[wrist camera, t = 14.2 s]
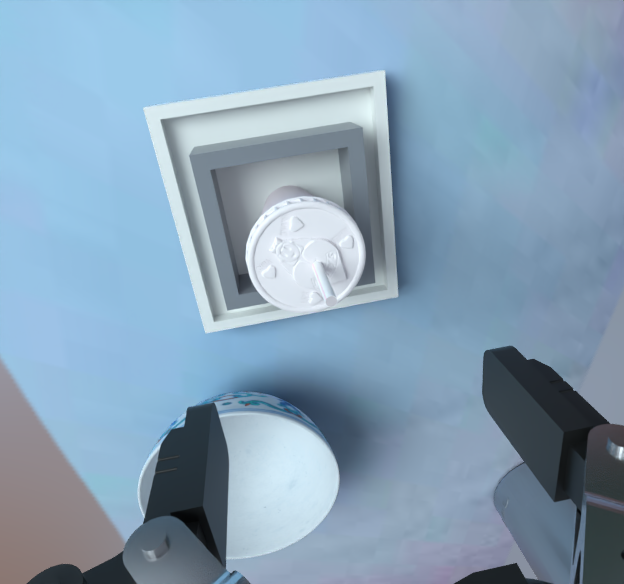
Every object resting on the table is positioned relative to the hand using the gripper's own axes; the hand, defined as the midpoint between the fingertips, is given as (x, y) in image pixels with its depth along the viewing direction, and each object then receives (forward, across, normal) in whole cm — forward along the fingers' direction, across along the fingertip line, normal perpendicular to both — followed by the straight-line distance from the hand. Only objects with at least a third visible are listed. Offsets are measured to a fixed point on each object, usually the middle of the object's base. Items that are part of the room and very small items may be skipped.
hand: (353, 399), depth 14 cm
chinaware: (+23, +7, +19) cm, 31 cm away
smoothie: (+22, 0, 0) cm, 22 cm away
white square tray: (+23, 0, 0) cm, 23 cm away
